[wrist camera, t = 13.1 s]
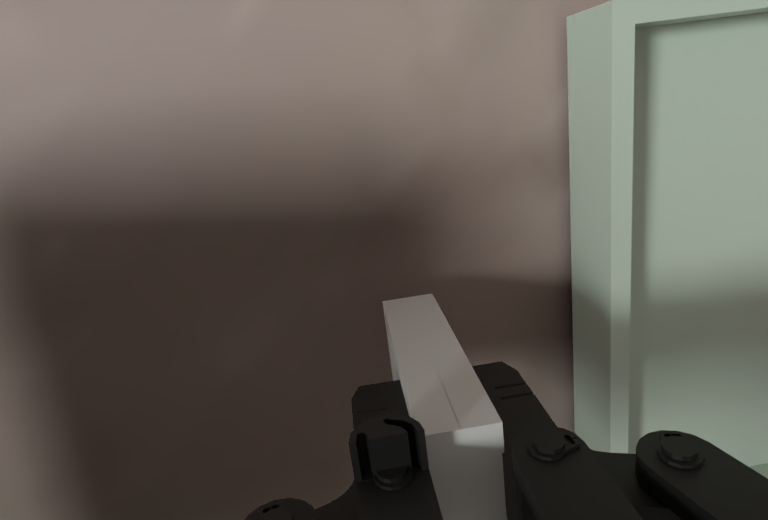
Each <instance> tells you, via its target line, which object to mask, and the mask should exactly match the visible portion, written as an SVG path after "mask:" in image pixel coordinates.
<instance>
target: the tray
mask: <svg viewBox="0 0 768 520" xmlns="http://www.w3.org/2000/svg"><path fill="white" fill-rule="evenodd" d="M567 59H568V111H569V163H570V214H571V266H572V318H573V369H574V421H575V434H576V435H577V436H579V437H580V438H581V439H582V440H583V441H584V442H585V443H586V444H587V446H588V447H589V448H590V449H591V450H595V451H601V452H610V453H628V454H636V446H637V443H638V441H639V439H640V438H641V437H643V436H644V435H646V434H647V433H650V432H655V431H660V430H669V431H680V432H684V433H688V434H692V435H695V436H697V437H699V438H702V439H704V440H706V441H708V442H710V443H711V444H713V445H715V446H716V447H718V448H719V449H721V450H723V451H724V452H726V453H727V454H729V455H731V456H732V457H734V458H735V459H737V460H739V461H740V462H742V463H743V464H745V465H747V466H748V467H750V468H752V469H753V470H755V471H756V472H758V473H760V474H761V475H763V476H764V477H766V478H768V0H612V1H609V2H606V3H603V4H600V5H598V6H595V7H592V8H589V9H587V10H584V11H581V12H578V13H576V14H573V15H570V16H567Z"/></svg>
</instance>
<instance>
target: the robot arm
mask: <svg viewBox="0 0 768 520" xmlns="http://www.w3.org/2000/svg"><path fill="white" fill-rule="evenodd" d="M382 304H383V311H384V318H385V326H386V333H387V340H388V348H389V355H390V363H391V370H392V377H393V381H389V382H383V383H377V384H371V385H365V386H359V388H358V389H357V391H356V393H355V394H354V396H353V398H352V412H353V425H354V431H353V432H352V433H351V435H350V439H349V448H350V454H351V460H352V466H353V472H354V477H355V479H354V482H353V484H352V485H351V486H350V488H349V489H348V490H347V491H346V492H345V493H344V494H343V495H342V496H340V497H339V498H338V499H336V500H334V501H332V502H331V503H329V504H327V505H325V506H322V507H320V508H318V509H315V510H314V508H313V506H311V505H310V504H308V503H307V502H305V501H303V500H299V499H293V498H286V499H279V500H274V501H272V502H269V503H267V504H265V505H262V506H260V507H259V508H257V509H256V510H255V511H253V512H252V513H251V514H250V515H248V516H247V517H246V519H245V520H768V478H766V477H764V476H763V475H761V474H760V473H758V472H756V471H755V470H753V469H752V468H750V467H748V466H747V465H745V464H743V463H742V462H740V461H739V460H737V459H735V458H734V457H732V456H731V455H729V454H727V453H726V452H724V451H723V450H721V449H719V448H718V447H716V446H715V445H713V444H711V443H710V442H708V441H706V440H704V439H702V438H699V437H697V436H695V435H692V434H688V433H684V432H680V431H669V430H660V431H655V432H650V433H647V434H646V435H644V436H643V437H641V438H640V439H639V441H638V443H637V446H636V454H628V453H610V452H601V451H595V450H591V449H590V448H589V447H588V446H587V444H586V443H585V442H584V441H583V440H582V439H581V438H580V437H579V436H577V435H576V434H575V433H572V432H570V431H568V430H566V429H563V428H558V427H557V426H556V425H555V423H554V422H553V421H552V419H551V418H550V416H549V415H548V413H547V412H546V411H545V409H544V408H543V406H542V405H541V404H540V402H539V401H538V399H537V398H536V396H535V395H533V392H532V391H531V389H530V388H529V387H528V385H526V382H525V381H524V379H523V378H522V377H521V375H520V374H519V372H518V371H517V370H515V369H514V368H512V367H510V366H509V365H507V364H505V363H503V362H496V363H489V364H483V365H477V366H471V364H470V362H469V360H468V358H467V356H466V355H465V353H464V351H463V349H462V347H461V345H460V344H459V342H458V340H457V338H456V336H455V334H454V332H453V331H452V329H451V327H450V325H449V323H448V321H447V320H446V318H445V316H444V314H443V312H442V310H441V309H440V307H439V305H438V303H437V301H436V299H435V298H434V296H433V294H426V295H419V296H413V297H406V298H400V299H393V300H387V301H382Z"/></svg>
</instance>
